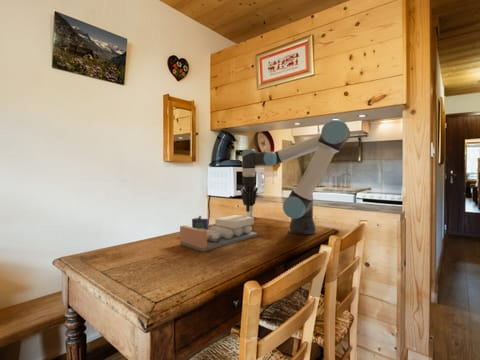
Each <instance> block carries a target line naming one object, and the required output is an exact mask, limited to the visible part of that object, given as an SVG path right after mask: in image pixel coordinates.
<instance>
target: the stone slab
mask: <svg viewBox="0 0 480 360" xmlns="http://www.w3.org/2000/svg"><path fill="white" fill-rule="evenodd" d="M214 220H215V221H214V223H215V225H214V226H218V227H220V226H222V227H227V228H232V229H234V228H239V227H243V226H247V225H251V226H252V225H254V224H255V217H253V216H252V217H247V215H241V214H233V215H232V214H231V215H228V216H227V215H226V216H222V217H216V218H214Z"/></svg>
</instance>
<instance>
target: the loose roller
mask: <svg viewBox="0 0 480 360" xmlns="http://www.w3.org/2000/svg"><path fill="white" fill-rule="evenodd" d="M200 229H201V230H206V231H207V240H209V241H212V242H216V243H217V242H219V241H220V240H221V233H219V232H216V231H211V230H210V229H208V230H207V229H203V228H200Z"/></svg>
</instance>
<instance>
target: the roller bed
mask: <svg viewBox="0 0 480 360" xmlns="http://www.w3.org/2000/svg"><path fill="white" fill-rule="evenodd" d="M209 230H211V231H216V232H219V233H221V240H220V241H219V242H217V243H216V242H212V241H209V240H207V231H206V230H201V229H197V228H193V227H192V226H188V225H180V226H179V238H180V245H182V246H185V247H188V248H190V249H194V250H197V251H200V252H207V251H210V250H213V249H217V248H220V247H224V246H228V245H231V244H234V243H238V242H241V241H245V240H248V239H253V238H255V237H256V238H257V237H259V233H258V232H254V231H252V230H253V228H252V224H251V225H247V226H243V227H239V228H234V229H232V228H227V227H222V226H218V225H211V226H210V228H209Z"/></svg>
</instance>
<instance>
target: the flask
mask: <svg viewBox="0 0 480 360" xmlns="http://www.w3.org/2000/svg"><path fill="white" fill-rule="evenodd" d="M191 223H192V224H191V225H192V226H191V227H193V228H197V229H200V228H203V229H207V230H209V219H208V218H206V217H205V218H202V215H198V217H194V218H192V219H191Z"/></svg>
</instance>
